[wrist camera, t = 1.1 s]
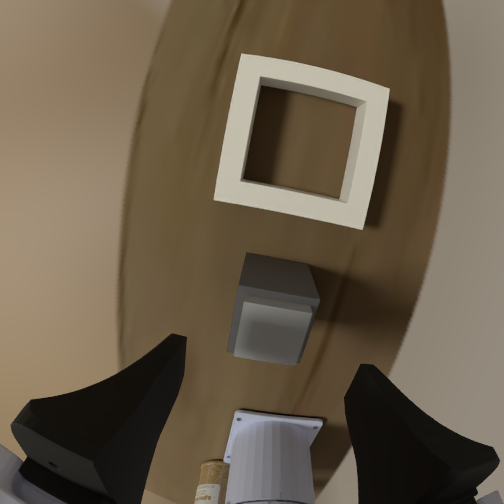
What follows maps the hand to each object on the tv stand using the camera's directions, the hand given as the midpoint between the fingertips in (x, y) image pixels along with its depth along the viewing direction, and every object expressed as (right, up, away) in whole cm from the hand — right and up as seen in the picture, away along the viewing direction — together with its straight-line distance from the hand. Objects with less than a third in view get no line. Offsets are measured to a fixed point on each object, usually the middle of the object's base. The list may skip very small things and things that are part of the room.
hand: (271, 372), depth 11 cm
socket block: (+2, +11, +5) cm, 13 cm away
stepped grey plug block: (+1, +3, +8) cm, 9 cm away
